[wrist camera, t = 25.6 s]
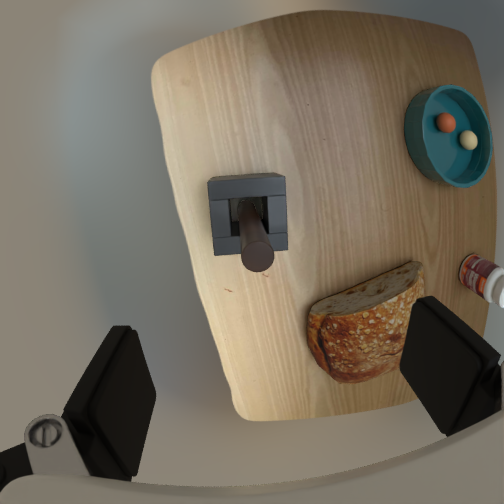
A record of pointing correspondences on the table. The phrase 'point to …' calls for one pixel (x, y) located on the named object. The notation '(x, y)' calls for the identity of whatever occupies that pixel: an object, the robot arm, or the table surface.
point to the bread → (365, 325)
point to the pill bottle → (483, 278)
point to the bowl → (448, 136)
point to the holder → (247, 186)
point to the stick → (253, 239)
